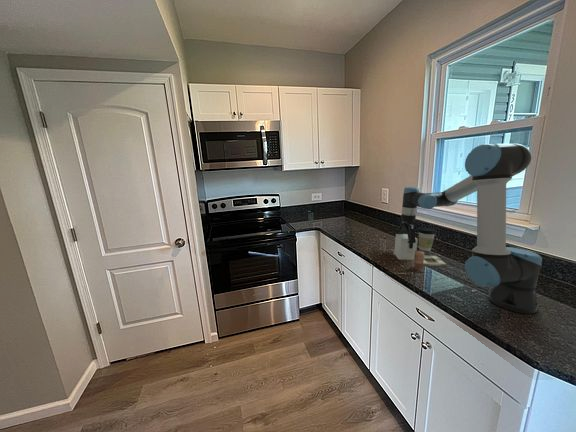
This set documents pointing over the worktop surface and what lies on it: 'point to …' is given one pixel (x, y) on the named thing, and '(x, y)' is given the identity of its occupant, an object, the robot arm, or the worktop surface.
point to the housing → (404, 247)
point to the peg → (418, 260)
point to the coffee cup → (426, 238)
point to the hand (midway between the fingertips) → (405, 248)
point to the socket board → (437, 262)
